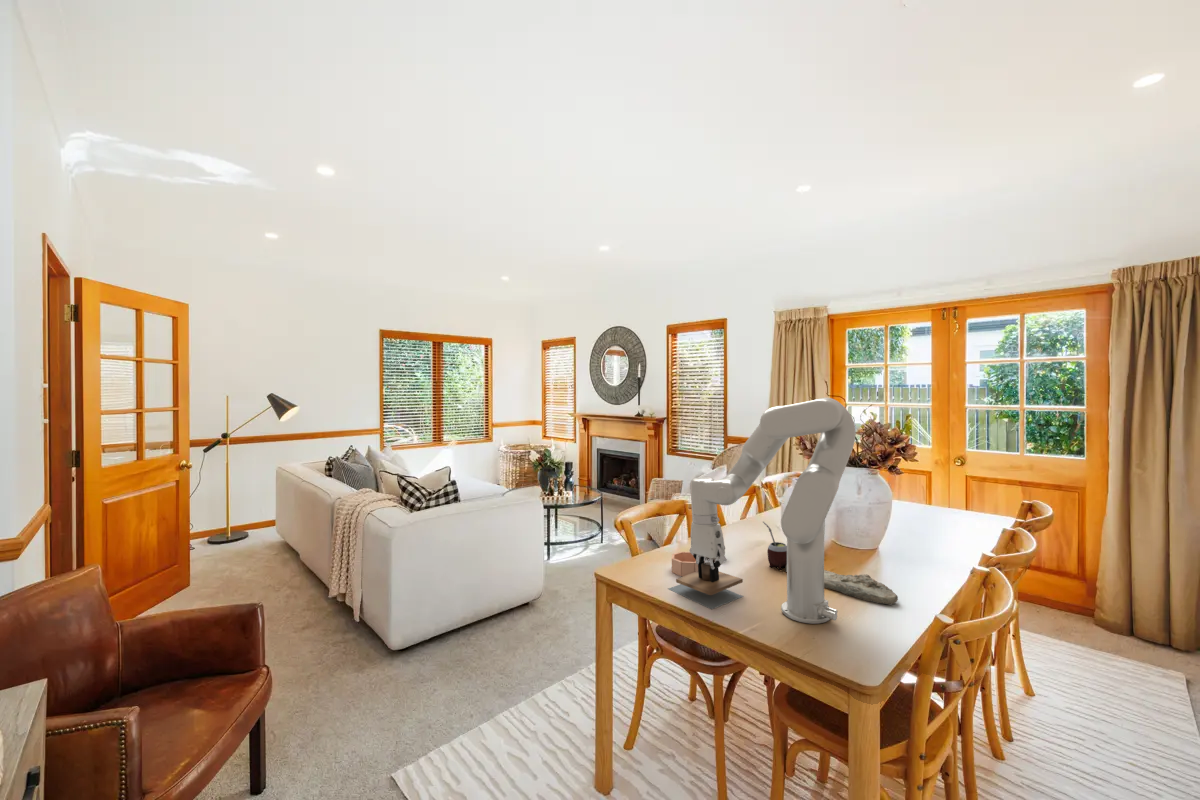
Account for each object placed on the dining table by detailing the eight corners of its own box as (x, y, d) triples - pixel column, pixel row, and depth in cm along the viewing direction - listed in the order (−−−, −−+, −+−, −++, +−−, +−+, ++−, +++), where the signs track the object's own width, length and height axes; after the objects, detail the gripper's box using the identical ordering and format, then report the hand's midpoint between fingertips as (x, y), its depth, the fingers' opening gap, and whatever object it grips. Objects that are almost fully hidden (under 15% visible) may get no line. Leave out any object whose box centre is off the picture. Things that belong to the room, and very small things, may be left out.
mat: (743, 597, 148) (743, 596, 148) (711, 610, 140) (711, 609, 140) (699, 579, 162) (699, 577, 162) (667, 590, 154) (667, 588, 154)
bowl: (710, 572, 168) (710, 557, 168) (688, 580, 162) (687, 565, 162) (687, 563, 177) (687, 549, 177) (665, 570, 171) (665, 556, 170)
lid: (742, 582, 149) (741, 564, 149) (710, 595, 141) (709, 576, 141) (707, 570, 160) (706, 554, 160) (676, 582, 152) (675, 564, 152)
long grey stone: (796, 571, 172) (779, 579, 166) (794, 556, 172) (777, 564, 166) (905, 599, 144) (888, 611, 138) (903, 581, 144) (887, 592, 138)
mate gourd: (791, 571, 168) (791, 527, 167) (767, 570, 168) (767, 527, 168) (785, 563, 175) (785, 521, 175) (762, 563, 176) (762, 521, 176)
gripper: (735, 520, 146) (739, 582, 146) (693, 512, 159) (697, 569, 159) (717, 525, 141) (721, 589, 141) (676, 516, 155) (680, 575, 155)
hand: (708, 578), depth 150 cm, fingers closed on lid, 4 cm apart
